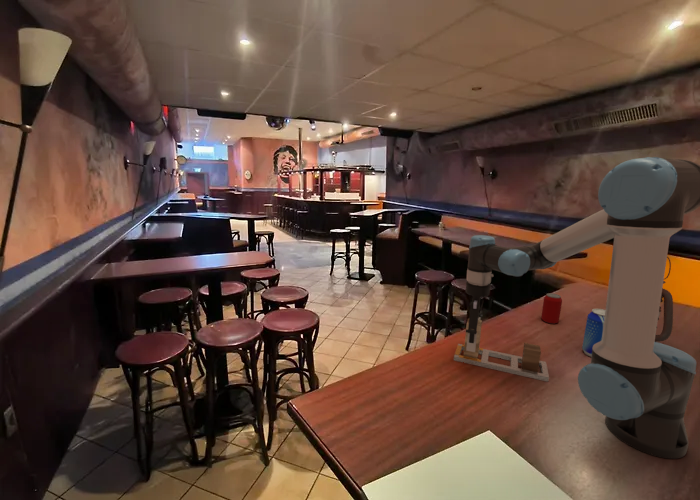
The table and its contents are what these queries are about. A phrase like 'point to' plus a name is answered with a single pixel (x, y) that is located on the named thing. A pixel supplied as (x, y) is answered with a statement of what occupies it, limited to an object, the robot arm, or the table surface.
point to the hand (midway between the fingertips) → (472, 342)
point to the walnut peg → (531, 357)
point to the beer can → (593, 330)
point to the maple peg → (475, 354)
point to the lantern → (666, 313)
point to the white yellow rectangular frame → (495, 366)
